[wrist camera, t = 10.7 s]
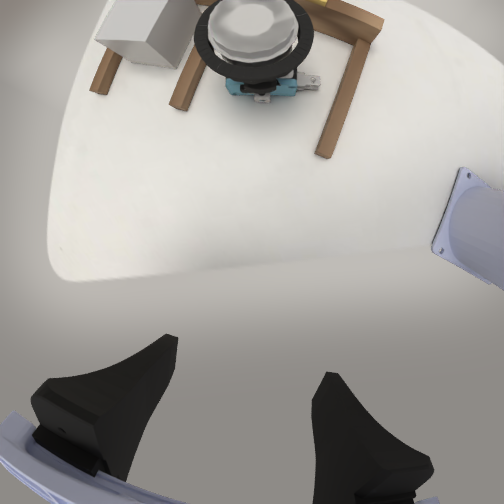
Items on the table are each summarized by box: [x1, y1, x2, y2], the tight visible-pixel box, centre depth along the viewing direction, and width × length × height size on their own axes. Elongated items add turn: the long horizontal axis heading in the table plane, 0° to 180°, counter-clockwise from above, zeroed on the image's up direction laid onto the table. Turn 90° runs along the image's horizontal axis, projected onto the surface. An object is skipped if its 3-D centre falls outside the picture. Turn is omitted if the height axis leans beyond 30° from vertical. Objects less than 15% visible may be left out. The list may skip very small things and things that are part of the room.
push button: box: [194, 0, 320, 103], centre depth 13 cm, size 7×5×10 cm
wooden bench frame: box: [89, 0, 384, 159], centre depth 15 cm, size 20×11×5 cm, turn 70°
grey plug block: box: [94, 0, 202, 69], centre depth 14 cm, size 4×6×6 cm
